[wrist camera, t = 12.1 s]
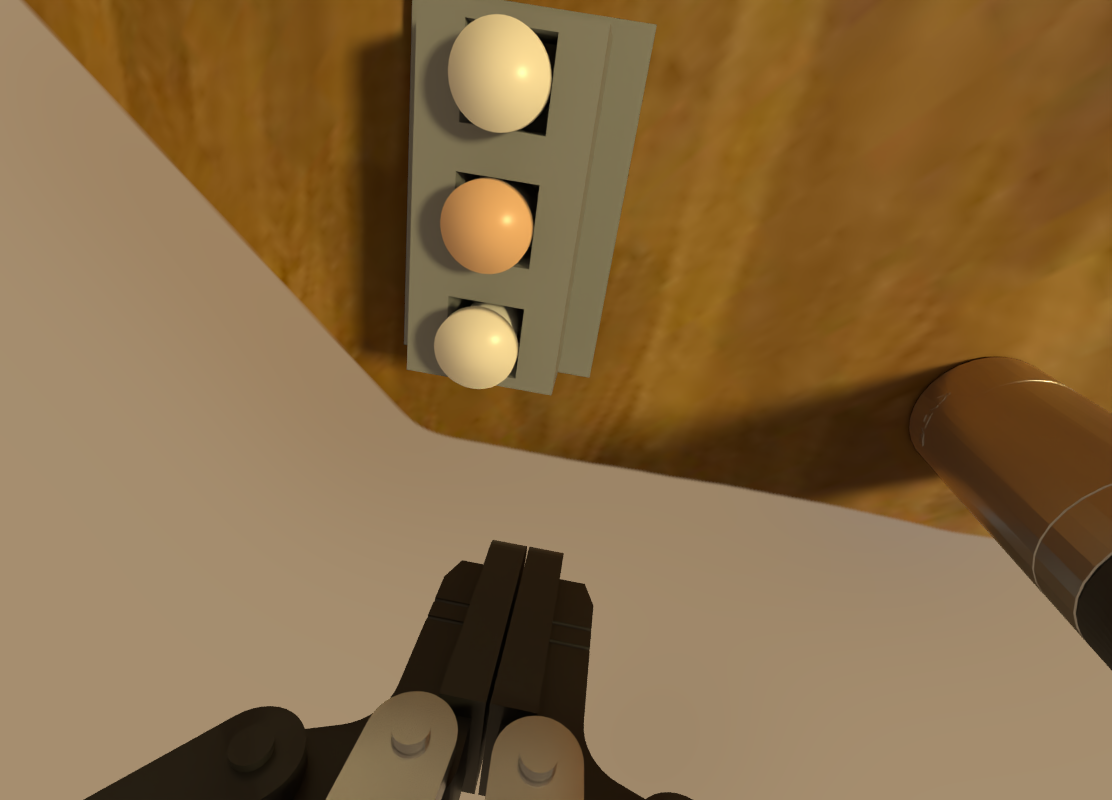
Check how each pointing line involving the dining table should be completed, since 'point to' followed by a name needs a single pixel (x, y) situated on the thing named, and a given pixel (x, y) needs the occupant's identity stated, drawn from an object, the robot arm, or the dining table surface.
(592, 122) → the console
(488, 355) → the knob far
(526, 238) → the knob mid
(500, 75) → the knob near
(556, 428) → the dining table surface
